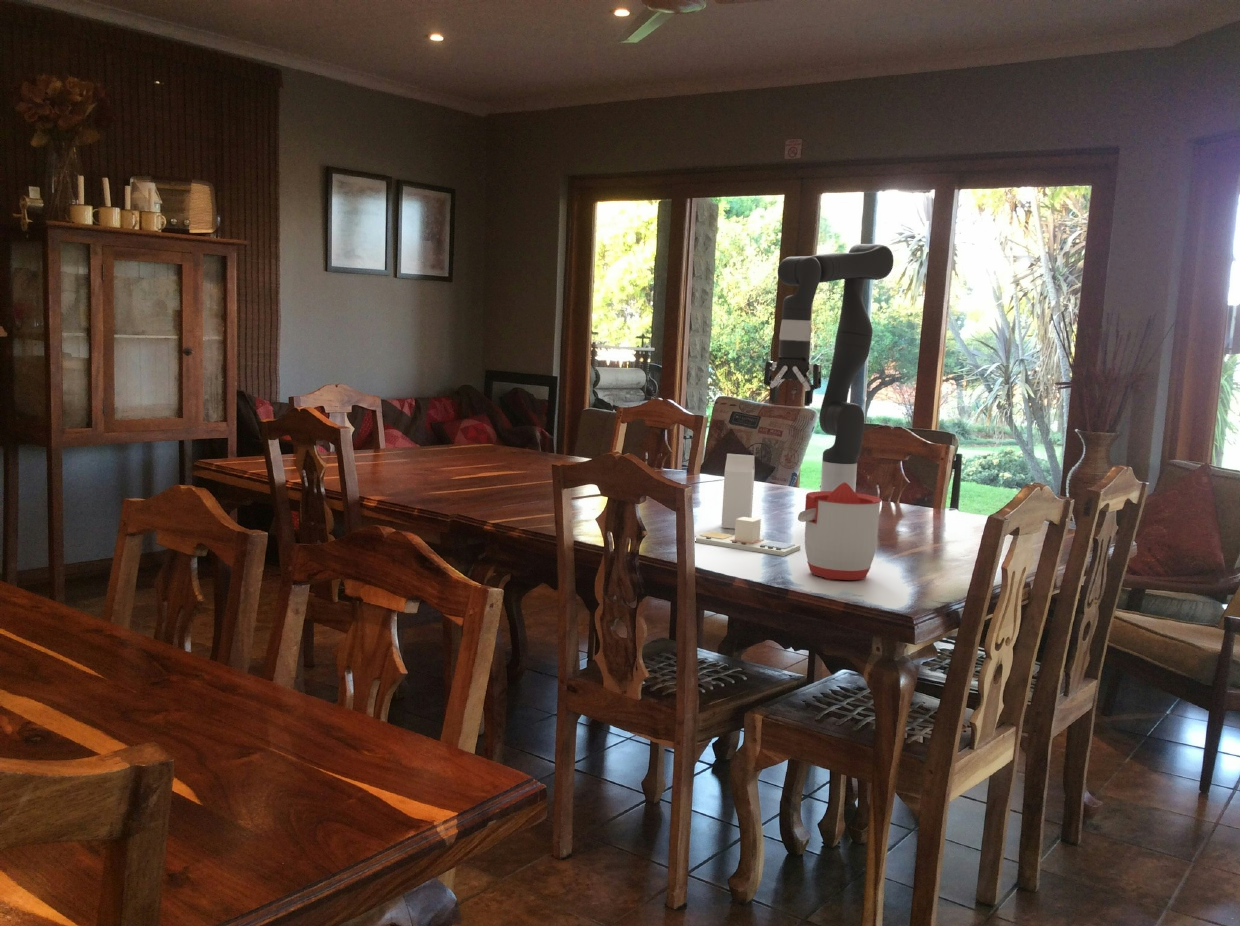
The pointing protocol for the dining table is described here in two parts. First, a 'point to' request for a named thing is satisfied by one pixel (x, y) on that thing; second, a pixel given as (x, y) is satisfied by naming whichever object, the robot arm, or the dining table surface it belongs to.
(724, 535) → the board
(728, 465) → the milk carton
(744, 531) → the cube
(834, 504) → the citrus juicer
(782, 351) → the robot arm
